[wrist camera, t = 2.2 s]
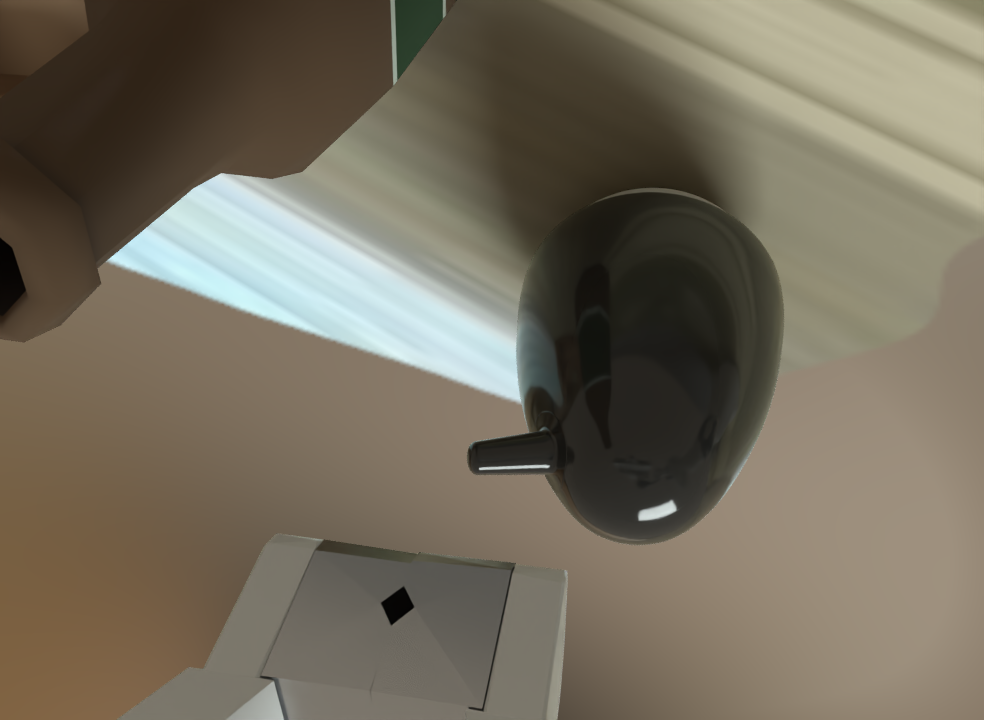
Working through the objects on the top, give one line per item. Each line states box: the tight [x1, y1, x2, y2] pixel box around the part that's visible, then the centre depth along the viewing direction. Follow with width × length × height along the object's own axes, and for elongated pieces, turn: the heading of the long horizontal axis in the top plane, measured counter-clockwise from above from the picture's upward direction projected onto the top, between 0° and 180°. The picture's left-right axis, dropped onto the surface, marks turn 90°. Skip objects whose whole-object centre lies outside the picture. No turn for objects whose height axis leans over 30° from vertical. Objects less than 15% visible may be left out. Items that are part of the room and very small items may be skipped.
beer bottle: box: [0, 0, 457, 342], centre depth 24 cm, size 8×8×24 cm
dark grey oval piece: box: [467, 188, 784, 545], centre depth 34 cm, size 10×10×15 cm
